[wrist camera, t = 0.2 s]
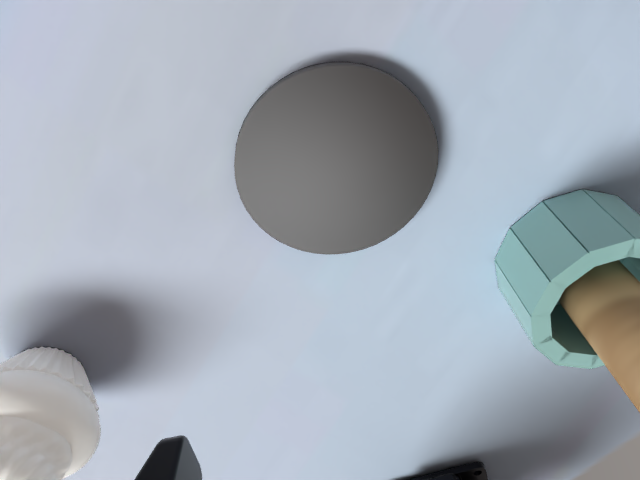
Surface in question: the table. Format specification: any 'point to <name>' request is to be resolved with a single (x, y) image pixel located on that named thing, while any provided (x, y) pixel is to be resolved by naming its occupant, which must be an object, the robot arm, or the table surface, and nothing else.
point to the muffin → (45, 416)
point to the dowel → (610, 320)
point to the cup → (563, 265)
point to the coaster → (335, 158)
